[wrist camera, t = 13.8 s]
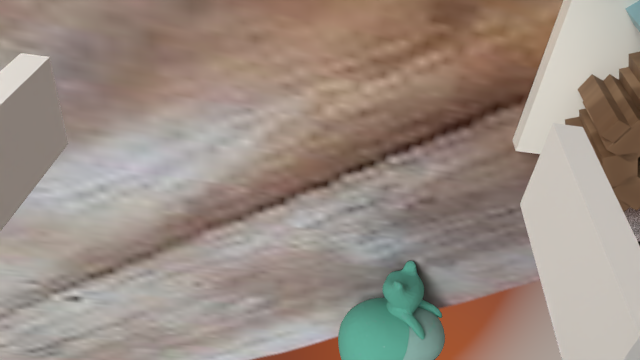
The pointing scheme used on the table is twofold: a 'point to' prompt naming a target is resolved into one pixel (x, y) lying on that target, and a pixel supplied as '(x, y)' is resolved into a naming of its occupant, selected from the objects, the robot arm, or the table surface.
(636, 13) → the teal gear
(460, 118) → the table surface
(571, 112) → the gear board
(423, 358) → the toy
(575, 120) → the walnut gear
